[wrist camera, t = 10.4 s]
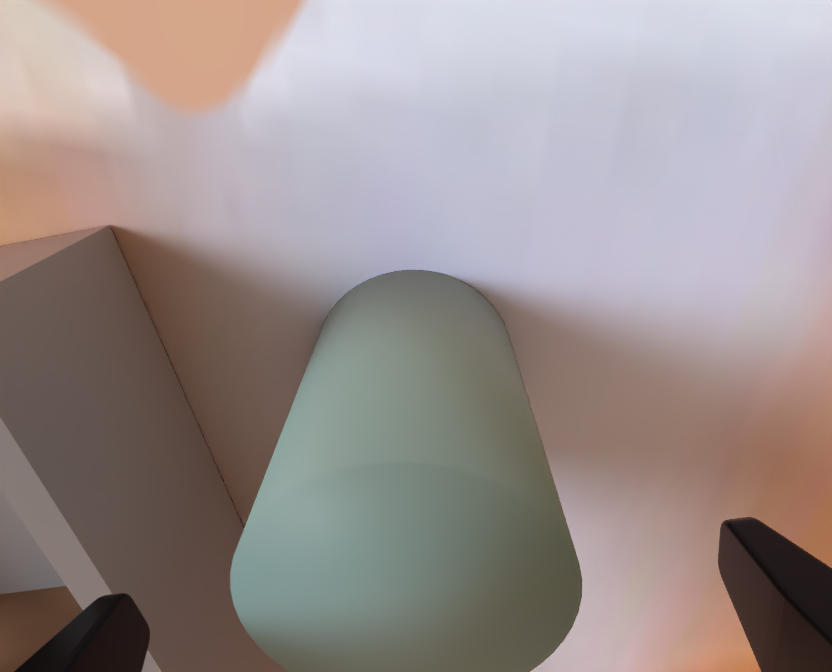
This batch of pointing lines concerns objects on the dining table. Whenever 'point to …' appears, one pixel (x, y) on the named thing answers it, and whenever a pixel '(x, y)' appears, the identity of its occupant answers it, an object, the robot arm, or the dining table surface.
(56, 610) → the walnut cube
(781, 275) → the dining table surface
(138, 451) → the tote
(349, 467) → the teal cylinder
